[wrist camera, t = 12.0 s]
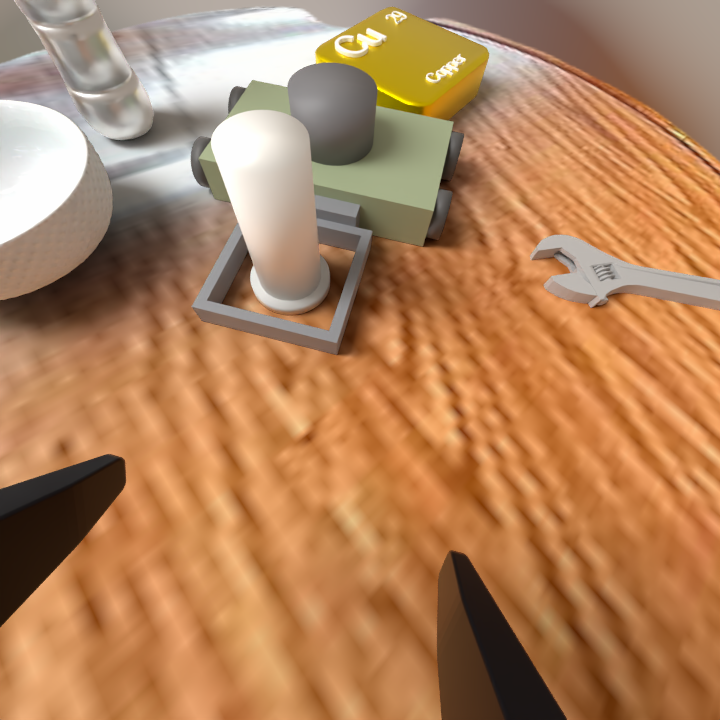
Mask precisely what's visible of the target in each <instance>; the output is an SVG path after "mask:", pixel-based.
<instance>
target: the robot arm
mask: <svg viewBox="0 0 720 720" xmlns="http://www.w3.org/2000/svg"><path fill="white" fill-rule="evenodd" d="M125 483H126V469H125V460H124V459H123V458H122V457H119V456H115V455H111V454H107V455H103V456H100V457H97V458H94V459H91V460H88V461H85V462H82V463H79V464H76V465H73V466H70V467H67V468H64V469H60V470H57V471H54V472H51V473H48V474H45V475H42V476H39V477H36V478H33V479H30V480H27V481H24V482H21V483H18V484H15V485H12V486H9V487H5V488H2V489H0V627H1V626H2V625H3V624H4V623H5V622H6V621H7V620H8V619H9V618H10V616H11V615H12V614H13V613H14V612H15V611H16V610H17V609H18V608H19V607H20V606H21V605H22V604H23V603H24V602H25V601H26V600H27V598H28V597H29V596H30V595H31V594H32V593H33V592H34V591H35V590H36V589H37V588H38V587H39V586H40V585H41V584H42V583H43V582H44V581H45V579H46V578H47V577H48V576H49V575H50V574H51V573H52V572H53V571H54V570H55V569H56V568H57V567H58V566H59V565H60V564H61V563H62V562H63V560H64V559H65V558H66V557H67V556H68V555H69V554H70V553H71V552H72V551H73V550H74V549H75V548H76V547H77V545H78V544H79V543H80V542H81V541H82V540H83V539H84V537H85V536H86V535H87V534H88V533H89V531H90V530H91V529H92V528H93V526H94V525H95V524H96V523H97V521H98V520H99V519H100V518H101V516H102V515H103V514H104V513H105V511H106V510H107V509H108V508H109V506H110V505H111V504H112V503H113V501H114V500H115V499H116V498H117V496H118V495H119V494H120V493H121V491H122V490H123V488H124V486H125ZM437 661H438V675H439V689H440V702H441V716H442V720H567V718H566V716H565V715H564V713H563V712H562V710H561V708H560V707H559V705H558V703H557V702H556V700H555V699H554V697H553V695H552V694H551V692H550V690H549V689H548V687H547V685H546V684H545V682H544V681H543V679H542V677H541V676H540V674H539V672H538V671H537V669H536V668H535V666H534V664H533V663H532V661H531V659H530V658H529V656H528V654H527V653H526V651H525V650H524V648H523V646H522V645H521V643H520V641H519V640H518V638H517V637H516V635H515V633H514V632H513V630H512V628H511V627H510V625H509V624H508V622H507V620H506V619H505V617H504V615H503V614H502V612H501V610H500V609H499V607H498V606H497V604H496V602H495V601H494V599H493V597H492V596H491V594H490V593H489V591H488V589H487V588H486V586H485V584H484V583H483V581H482V579H481V578H480V576H479V575H478V573H477V571H476V570H475V568H474V566H473V565H472V563H471V562H470V560H469V558H468V557H467V556H466V555H465V554H464V553H460V552H457V551H453V550H451V551H449V552H448V554H447V556H446V558H445V561H444V563H443V565H442V568H441V570H440V573H439V579H438V617H437Z"/></svg>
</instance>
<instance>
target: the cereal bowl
mask: <svg viewBox="0 0 720 720" xmlns="http://www.w3.org/2000/svg"><path fill="white" fill-rule="evenodd" d="M112 202H113V195H112V188H111V184H110V180H109V178H108V174H107V172H106V170H105V168H104V165H103V163H102V162H101V160H100V158H99V155H98V154H97V153H96V151H95V149H94V147H93V145H92V144H91V143H90V142H89V140H88V138H87V136H86V135H85V134H84V133H83V132H82V131H81V129H80V128H79V127H78V126H77V125H76V124H75V123H74V122H72V121H71V120H70V119H69V118H67V117H66V116H64V115H62V114H61V113H59V112H57V111H55V110H52V109H50V108H47V107H44V106H40V105H36V104H32V103H26V102H19V101H7V100H0V300H6V299H8V298H14V297H17V296H20V295H23V294H27V293H30V292H33V291H35V290H37V289H40V288H42V287H44V286H47V285H48V284H50V283H53V282H54V281H56V280H58V279H59V278H61V277H63V276H65V275H66V274H68V273H69V272H70V271H72V270H73V269H75V268H76V267H77V266H78V265H79V264H81V263H83V262H84V261H85V259H86V258H87V257H88V256H89V255H90V254H92V252H93V251H94V250H95V249H96V247H97V246H98V244H99V243H100V241H101V240H102V239H103V236H104V234H105V233H106V232H107V228H108V226H109V224H110V218H111V216H112V209H113V204H112Z"/></svg>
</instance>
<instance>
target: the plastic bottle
mask: <svg viewBox="0 0 720 720" xmlns="http://www.w3.org/2000/svg"><path fill="white" fill-rule="evenodd" d="M14 1H15V3H16V4H17V5H18V7H19V8H20V10H21V11H22V12H23V13H24V14H25V15H26V17H27V20H28V21H29V23H30V24H31V26H32V27H33V29H34V30H35V31H36V33H37V34H38V36H39V38H40V40H41V41H42V43H43V45H44V47H45V48H46V50H47V52H48V54H49V55H50V57H51V59H52V61H53V63H54V64H55V66H56V68H57V70H58V71H59V73H60V75H61V77H62V78H63V80H64V83H65V85H66V87H67V90H68V92H69V94H70V96H71V98H72V100H73V102H74V104H75V106H76V108H77V110H78V112H79V113H80V114H81V115H82V116H83V117H84V119H85V120H86V121H87V122H88V123H89V124H90V126H91V127H92V128H93V129H94V130H96V131H97V132H99V133H100V134H102V135H104V136H105V137H108V138H110V139H115V140H128V139H133V138H137V137H139V136H141V135H143V134H145V133H146V132H148V131H149V129H150V128H151V127H152V124H153V117H154V112H153V108H152V105H151V102H150V98H149V95H148V94H147V92H146V90H145V88H144V87H143V85H142V83H141V82H140V80H139V78H138V77H137V75H136V74H135V72H134V71H133V69H132V68H131V67H130V66H129V64H128V62H127V60H126V59H125V57H124V55H123V53H122V51H121V50H120V48H119V46H118V44H117V42H116V41H115V39H114V37H113V35H112V34H111V32H110V30H109V28H108V27H107V25H106V23H105V20H104V18H103V16H102V14H101V11H100V9H99V7H98V6H97V4H96V3H95V0H14Z"/></svg>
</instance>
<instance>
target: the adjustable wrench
mask: <svg viewBox="0 0 720 720" xmlns="http://www.w3.org/2000/svg"><path fill="white" fill-rule="evenodd" d="M549 257H555V258H556V259H557V260H559V261H560V262H562V263H563V264H564V265H566V266H567V267H568V269H569V270H570V272H571V273H569V274H563V275H556V276H551V277H550V278H549V280H548V281H547V282H546V283H545V284H544V287H545V289H546V290H547V291H549V292H550V293H552V294H554V295H556V296H558V297H560V298H562V299H565V300H568V301H572V302H578V303H588V304H589V306H590V308H592V307H594V306H595V305H602V304H605V303H607V302H608V298H607V297H606V296H609V295H611V294H615V293H631V294H637V295H642V296H647V297H653V298H658V299H663V300H668V301H673V302H679V303H684V304H689V305H694V306H699V307H705V308H710V309H715V310H720V280H716V279H710V278H705V277H699V276H693V275H687V274H682V273H676V272H670V271H664V270H658V269H653V268H647V267H641V266H637V265H633V264H629V263H627V262H624V261H621V260H619V259H617V258H615V257H613V256H610V255H608V254H606V253H604V252H602V251H600V250H598V249H597V248H595V247H593V246H591V245H589V244H588V243H586V242H584V241H582V240H581V239H578V238H576V237H572V236H568V235H553V236H549V237H547V238H545V239H543V240H542V241H541V242H540V243H539V244H538V245H537V247H536V248H535V249H534V251H533V252H532V253H531V255H530V259H531V260H535V259H542V258H549Z"/></svg>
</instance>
